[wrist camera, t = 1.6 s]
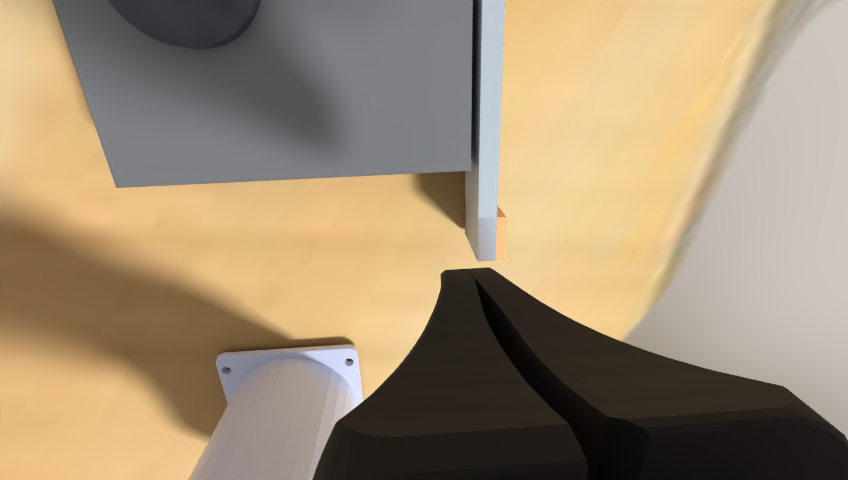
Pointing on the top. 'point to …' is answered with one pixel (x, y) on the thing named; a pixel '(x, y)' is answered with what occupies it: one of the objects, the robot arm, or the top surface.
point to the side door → (485, 133)
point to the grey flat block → (274, 87)
